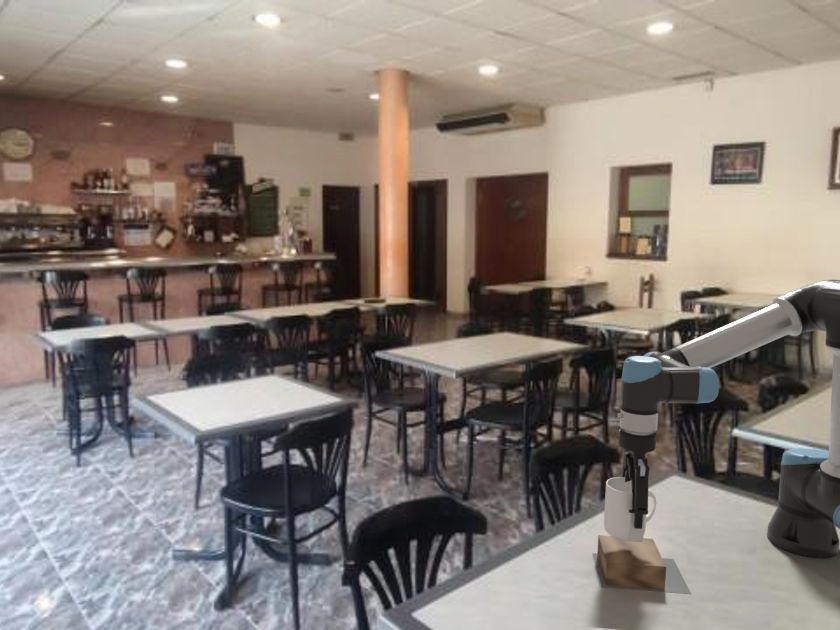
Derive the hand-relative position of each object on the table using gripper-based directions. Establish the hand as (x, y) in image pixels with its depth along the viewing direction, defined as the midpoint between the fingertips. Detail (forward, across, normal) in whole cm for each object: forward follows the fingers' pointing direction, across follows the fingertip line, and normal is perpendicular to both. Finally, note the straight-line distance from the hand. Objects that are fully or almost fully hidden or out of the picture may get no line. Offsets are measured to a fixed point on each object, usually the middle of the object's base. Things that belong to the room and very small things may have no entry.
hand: (631, 530), depth 139 cm
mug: (+1, -1, 0) cm, 1 cm away
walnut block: (+10, 0, 0) cm, 10 cm away
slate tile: (+11, 0, +2) cm, 11 cm away
